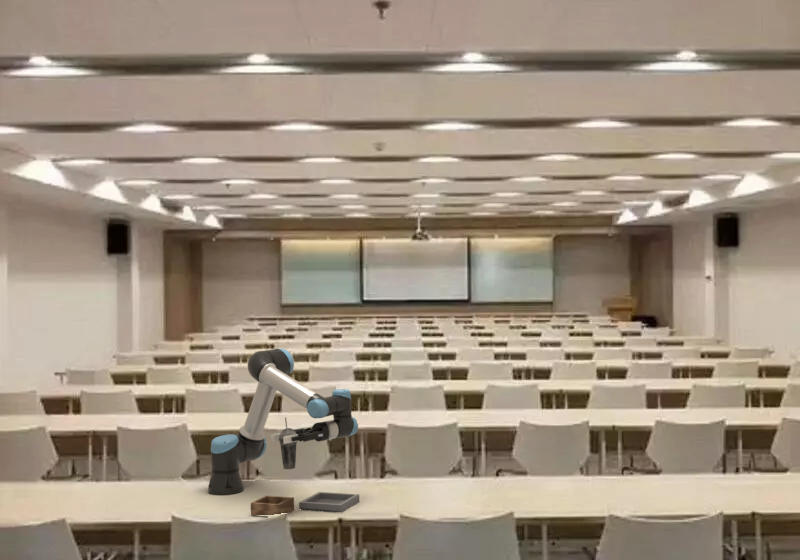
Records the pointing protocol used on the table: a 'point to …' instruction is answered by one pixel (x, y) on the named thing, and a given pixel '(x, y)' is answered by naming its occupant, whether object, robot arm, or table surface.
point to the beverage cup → (288, 448)
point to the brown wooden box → (272, 505)
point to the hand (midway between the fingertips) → (278, 439)
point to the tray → (329, 502)
